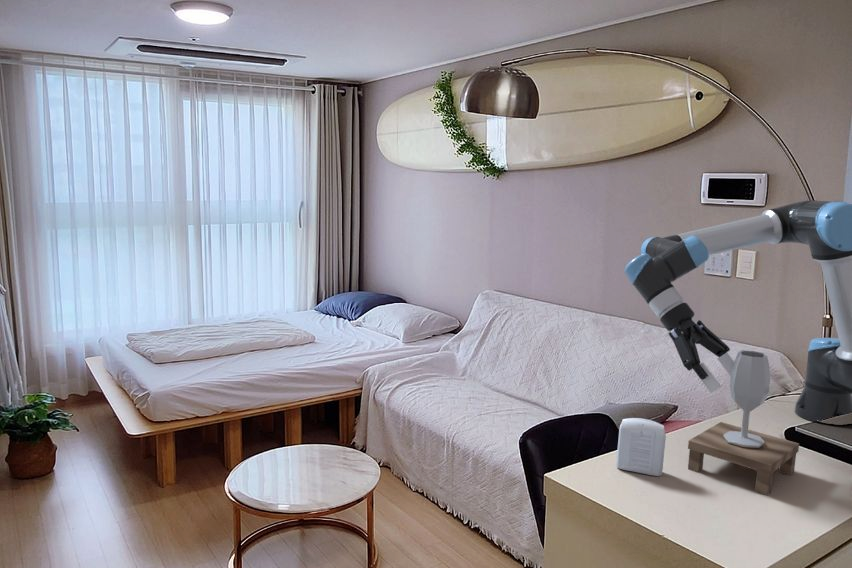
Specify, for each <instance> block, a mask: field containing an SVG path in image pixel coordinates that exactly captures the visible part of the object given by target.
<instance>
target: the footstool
mask: <svg viewBox="0 0 852 568" xmlns="http://www.w3.org/2000/svg"><path fill="white" fill-rule="evenodd" d="M741 429H742V426H736V425H733V424H729V423H727V422H723V421H720V422H718V423H716V424H715V425H713V426H711V427H709V428H708V429H706V430H704V431H703V432H701V433H699V434H698V435H696V436H694V437H692V438H690V439H689V440H688V443H687V449H688V450H689V452H688V453H689V454H688V464H687V469H688V470H690V471H692V472H695V473H699V472H701V471H702V470H703V469H704V456H705V455H706V456H710V457H713V458H717V459H719V460H724V461H726V462H730V463H732V464H735V465H739V466H742V467H745V468H748V469H751V470H754V471H756V480H755V486H754V487H755V489H754V492H756V493H758V494H762V495H764V496H768V495H769V494H770V493H771V491H772V483H773V476H774V475H773V474H774V473H773V472H775V471H776V470H778V469H779V473H782V474H787V475H789V476H791V475H792V474H793V473H795V466H796V460H797V454H798V452H799V448H800V443H798V442H795V441H791V440H788V439H785V438H781V437H777V436H773V435H769V434H767V433H763V432H758V431H755V430H752V429H748V433H750V434H754V435H757V436H760V437H761V438H762V439H763V441H764V442H765V444H764V445H763V446H761V447H760V448H746V447H740V446H737V445H734V444H730V443H728V442H727V441H726V440H725V438H724V437H723V435H724V434H725V433H727V432H729V431H737V432H741Z"/></svg>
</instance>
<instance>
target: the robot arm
mask: <svg viewBox="0 0 852 568" xmlns="http://www.w3.org/2000/svg"><path fill="white" fill-rule="evenodd" d="M766 243H769V244H771V245H778V244H784V243H787V244H788V243H795V244H804V245H809V246H808V247H809V251H810V254H811V255H810V256H811V259H812V260H814V261H816V262H817V263H819V264H820V266H821V270H822V275H823V279H824V284H825V287H826V292H827V296H828V299H829V304H830V308H831V312H832V316H833V321H834V325H835V330H836V333H837V337H816V338H812V339H811V340H810V342H809V345H808V350H807V359H806V360H807V361H806V372H805V380H804V387H803V389H802V390H801V393H800V394H799V397H798V398H797V401H796V403H795V406H794V413H795V414H796V415H797V416H798V417H801V418H802V419H805V420H808V421H811V422H813V421H817V420H822V419H826V418H830V417H835V416H839V415H844V414H849V413H852V203H850V202H849V203H848V202H846V201H839V200H838V201H837V200H834V201H829V200H814V199H813V200H812V199H811V200H808V199H807V200H800V201H797V202H793V203H789V204H785V205H781V206H778V207H775V208H769V209H766V210H764V211H763V212H762V213H761V214H760V215H756V216H752V217H747V218H743V219H738V220H734V221H730V222H726V223H720V224H717V225H716V224H715V225H713V226H709V227H708V226H707V227H704V228H699V229H694V230H691V231H686V232H682V233H677V234H672V235H668V236H664V237H661V236H660V237H659V236H654V237H653V236H651V237H649V238H647V239H646V240H645V241H643V243H642V244H641V245H640V246H641V247H640V254H639V255H637V256H635V257H634V258H633V259H632V260H630V261H629V262H628V263H627V264H626V266H625V268H624V273H625V275H626V277H627V278H628V280H629V281H630V283H631V284H632V286H633V287H634V288H635V290H637V292H638V294H640V295H641V297H642V298H643V299H644V301H645V302H646V303H647V305H648V306H649V307H650V311H651V312H652V313H654V314H655V315H656V317H657V318H660V319H659V320H660V322H661V324H662V325H663V326H664V328H665V329H666V330H667V331H668V336H669V337H670V339H671V340H672V342H673V344H674V346H675V348H676V351H677V353H678V356H679V358H680V360H681V362H682V364H683V367H684V368H685V369H687V370H688V371H692V370H693V371H694V373H695V374H696V375H697V376H698V378H699V379H700V381H701V382H702V384H703V385H704V386H705V388H706V389H707V390H708V391H709V393H710V394H712V393H714V392H716V391H717V390H719V389H720V388H722V385H721V384H720V382H719V381H718V380H717V378H716V377H715V375H714V374H713V373H712V371H711V370H710V369H709V367H707V365H706V364H705V363H704V362H701V360H700V356H699V352H698V348H697V345H700V346H702V347H703V348H704V349H706V350H707V351H709V352H710V353H712V354H714V355H715V356H716V357H718V358H717V361H718V362H719V363H720V365H721V366H722V367H723V368H724V369H725V371H726V372H727V373H728V375H729V376H730V377H731V372H732V368H733V365H734V361H735V359H733V358H732V356H731V355H730V354H729V353H728V352H730V351H731V349H730V347H729V346H728V345H727V344H726V343H725V342H724V341H723V340H721V338H720V337H718V336H717V335H716V334H715V333H714V332H713V331H711V330H710V329H709V328H708V327H707V326H706V325H705V324H704V323H703V322H702V320H700V319H699V320H697V321H693V318H694V316H695V311H693V309H692V308H691V307H690V305H689V304H688V303H686V302H684V301H685V298H683V296H682V295H681V293H680V292H679V291H678V290H677V288H675V286H674V285H673V284H672V283H673V282H675V281H677V280H678V279H680V278H682V277H683V276H685V275H686V274H689V273H690V272H691V271H693V270H695V269H697V268H699V267H700V266H701V265H704V263H706V262H707V261H708V260H709V257H710V256H712V255H717V254H722V253H726V252H731V251H735V250H738V249H739V250H740V249H744V248H748V247H752V246H757V245H761V244H766Z"/></svg>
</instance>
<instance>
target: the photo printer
mask: <svg viewBox="0 0 852 568" xmlns="http://www.w3.org/2000/svg"><path fill="white" fill-rule="evenodd" d="M666 434H667V433H666V430H665V426H664V425H663V424H662V423H659V422H658V421H655V420H651V419H646V418H640V417H629V418H623V419H622V421H621V423H620V425H619V431H618V440H617V441H618V442H617V451H616V453H617V454H616V461H615V463H616V464H615V465H616V466H615V467H616V468H617V469H620V470H623V471H629V472H633V473H634V472H635V473H638V474H644V475H650V476H654V477H655V476H656V477H660V476H662V475H663V469H664V468H663V467H664V462H665V461H664V459H665V448H666V438H667V435H666Z"/></svg>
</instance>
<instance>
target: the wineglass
mask: <svg viewBox="0 0 852 568" xmlns="http://www.w3.org/2000/svg"><path fill="white" fill-rule="evenodd" d="M729 378H730V380H729V390H730V395H731V396H730V397H731V399H732V400H733V401H734V402H735V403H736V404H737V405H738V407H740V409H741V410H742V411H743V413H742V421H741V423H742V424H741V428H742V429H741V432H737V431H729V432H727V433H725V434H724V435H723V437H724V438H725V440H726V441H727V442H728V443H730V444H734V445H737V446H740V447H746V448H760V447H761V446H763V445H764V444H765V442H764V441H763V439H762V438H761V437H760V436H757V435H754V434H750V433H748V430H749V425H750V414H751V412H752V411H753V410H755V409H757V408H759V407H760V406H761V405H763V404H764V403H765V402H766V399H767V397H768V394H769V392H770V385H771V383H770V382H771V375H770V363H769V358H768V355H767V354H765V353H764V352H760V351H757V350H756V351H755V350H746V349H745V350H740V351H738V352H737V355H736V357H735V358H734V365H733V368H732V372H731V376H730V377H729Z"/></svg>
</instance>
